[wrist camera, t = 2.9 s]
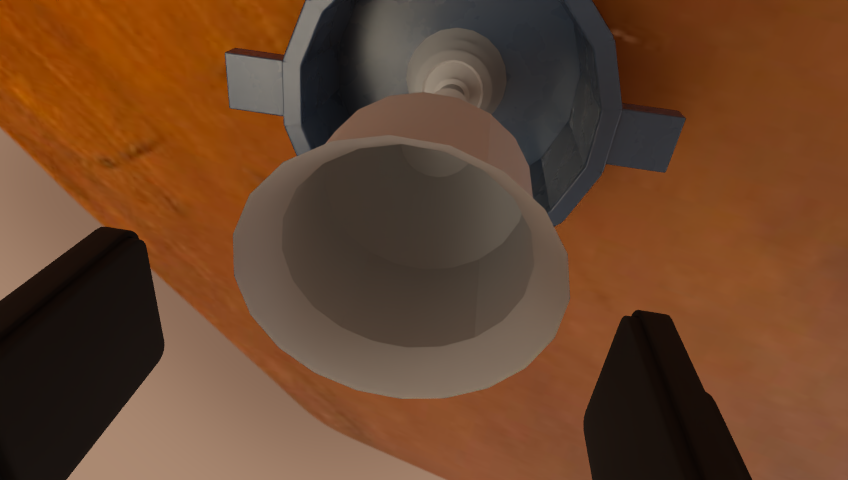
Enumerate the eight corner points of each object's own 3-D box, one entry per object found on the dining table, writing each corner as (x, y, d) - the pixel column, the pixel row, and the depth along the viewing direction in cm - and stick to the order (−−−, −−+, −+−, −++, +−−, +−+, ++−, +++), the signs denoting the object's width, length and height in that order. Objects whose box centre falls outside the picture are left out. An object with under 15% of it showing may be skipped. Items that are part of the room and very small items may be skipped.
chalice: (535, 8, 25) (596, 142, 9) (522, 147, 28) (550, 412, 13) (381, 7, 25) (200, 128, 10) (387, 141, 29) (259, 385, 13)
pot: (270, -101, 24) (201, -110, 18) (693, -47, 23) (754, -40, 17) (280, 173, 31) (232, 226, 25) (604, 222, 30) (628, 289, 24)
